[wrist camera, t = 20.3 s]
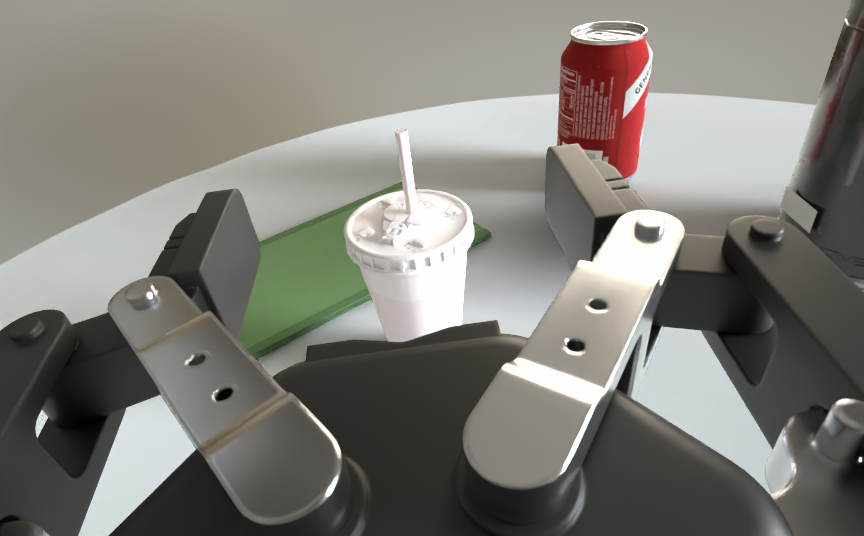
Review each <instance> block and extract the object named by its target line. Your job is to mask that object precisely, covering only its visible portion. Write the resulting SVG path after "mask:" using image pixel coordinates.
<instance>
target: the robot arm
mask: <svg viewBox="0 0 864 536" xmlns="http://www.w3.org/2000/svg"><path fill="white" fill-rule="evenodd" d="M545 208H546V215H547V219H548V222H549V225H550V227H551V229H552V231H553V233H554V235H555V237H556V239H557V241H558V243H559V245H560V247H561V249H562V251H563V253H564V255H565V257H566V259H567V261H568V264H569V266H570V268H571V270H572V273H571V274H570V276H569V277H568V279H567V280H566V282H565V284H564V285H563V287H562V288H561V290H560V291H559V293H558V294H557V296H556V297H555V299H554V301H553V302H552V304H551V305H550V307H549V308H548V310H547V311H546V313H545V315H544V316H543V318H542V319H541V321H540V322H539V324H538V325H537V327H536V328H535V330H534V332H533V333H532V335H531V336H530V338H526V337H522V336H517V335H510V334H501V333H500V329H499V325H498V322H497V320H494V321H487V322H480V323H472V324H465V325H458V326H451V327H448V328H445V329H442V330H439V331H436V332H433V333H430V334H427V335H424V336H421V337H418V338H415V339H412V340H409V341H405V342H387V341H369V340H348V341H341V342H334V343H326V344H319V345H312V346H307V354H306V361H303V362H300V363H298V364H295V365H293V366H291V367H289V368H287V369H285V370H283V371H281V372H279V373H278V374H276V375H275V376H273V377H271V376H270V375H269V374H268V373H267V371H266V370H265V369H264V368H263V367H262V366H261V365H260V364H259V363H258V362H257V361H256V360H255V358H254V357H253V356H252V355H251V354H250V353H249V352H248V351H247V350H246V349H245V348H244V347H243V345H242V344H241V343H240V342H239V341H238V338H239V335H240V331H241V328H242V324H243V321H244V317H245V313H246V310H247V306H248V303H249V299H250V296H251V292H252V289H253V285H254V282H255V278H256V274H257V271H258V267H259V264H260V257H261V254H260V245H259V241H258V238H257V235H256V232H255V229H254V227H253V224H252V221H251V218H250V216H249V213H248V210H247V207H246V205H245V202H244V199H243V197H242V194H241V193H240V191H239V190H238V189H229V190H222V191H214V192H207V193H206V194H205V196H204V198H203V200H202V202H201V204H200V206H199V208H198V210H197V212H196V213H191V214H189V215H188V216H187V217H185V218H184V219H183V220H182V221H181V222H180V223H178V224H177V225H176V226H175V228H174V230H173V232H172V234H171V236H170V237H169V239H170V240H168V241H167V243H166V245H165V247H164V250H163V251H162V252H161V254H160V256H159V258H158V260H157V262H156V263H155V265H154V267H153V269H152V271H151V273H150V274H149V276H148V277H147V278H143V279H140V280H137V281H135V282H133V283H131V284H129V285H127V286H125V287H124V288H122V289H121V290H120V291H118V292H117V293H116V294H115V295H114V296H113V297H112V299H111V300H110V302H109V304H108V313H106V314H103V315H100V316H97V317H94V318H91V319H88V320H85V321H82V322H79V323H76V324H73V325H72V324H71V323H70V322H69V320H68V319H67V317H66V316H65V314H64V313H62V312H61V311H58V310H42V311H38V312H34V313H31V314H28V315H26V316H24V317H21V318H19V319H17V320H16V321H14V322H12V323H10V324H9V325H7V326H6V327H5V328H3V329H2V330H1V331H0V536H78V534H79V532H80V529H81V526H82V524H83V521H84V519H85V516H86V513H87V511H88V508H89V505H90V503H91V500H92V498H93V495H94V492H95V490H96V487H97V484H98V482H99V479H100V476H101V474H102V471H103V469H104V466H105V463H106V461H107V458H108V455H109V453H110V450H111V447H112V445H113V442H114V440H115V437H116V434H117V432H118V429H119V426H120V424H121V421H122V418H123V416H124V413H125V410H126V408H127V407H129V406H132V405H134V404H137V403H140V402H142V401H145V400H148V399H150V398H153V397H155V396H158V395H161V396H162V398H163V399H164V401H165V402H166V404H167V405H168V407H169V409H170V410H171V412H172V413H173V415H174V416H175V418H176V419H177V421H178V422H179V424H180V426H181V427H182V429H183V430H184V432H185V433H186V435H187V436H188V438H189V439H190V441H191V442H192V444H193V446H194V447H195V449H196V450H195V451H194V452H193V453H192V454H191V455H190V456H189V457H188V458H187V459H186V460H185V461H184V462H183V463H182V464H181V465H180V466H179V467H178V468H177V469H176V470H175V471H174V472H173V473H172V474H171V475H170V476H169V477H168V478H167V479H166V480H165V481H164V482H163V483H162V484H161V485H160V486H159V487H158V488H157V489H156V490H155V491H154V492H153V493H151V494H150V495H149V496H148V497H147V498H146V499H145V500H144V501H143V502H142V503H141V504H140V505H139V506H138V507H137V508H136V509H135V510H134V511H133V512H132V513H131V514H130V515H129V516H128V517H127V518H126V519H125V520H124V521H123V522H122V523H121V524H120V525H119V526H118V527H117V528H116V529H115V530H114V531H113V532H112V533H111V534H110V535H109V536H864V292H863V291H864V0H851V3H850V6H849V9H848V12H847V15H846V20H845V22H844V25H843V28H842V31H841V34H840V37H839V40H838V43H837V46H836V49H835V52H834V55H833V57H832V60H831V63H830V67H829V69H828V72H827V75H826V78H825V81H824V84H823V87H822V90H821V93H820V96H819V99H818V102H817V105H816V108H815V111H814V113H813V116H812V119H811V122H810V125H809V128H808V131H807V134H806V137H805V140H804V143H803V146H802V149H801V152H800V155H799V158H798V161H797V164H796V167H795V170H794V173H793V175H792V178H791V181H790V184H789V187H786V190H785V194H784V197H783V200H782V203H781V206H780V208H781V210H780V213H779V216H778V217H777V218H773V217H768V216H760V215H751V216H743V217H739V218H736V219H734V220H733V221H731V222H730V223H729V224H728V227H727V230H726V234H725V236H713V235H696V234H688V233H685V229H684V226H683V224H682V223H681V222H680V221H679V220H678V219H676V218H675V217H673V216H671V215H669V214H666V213H662V212H658V211H651V210H649V209H648V208H647V207H646V206H645V204H644V203H643V202H642V201H641V199H640V198H639V197H638V195H637V194H636V193H635V192H634V190H633V189H632V188H630V185H629V184H628V183H627V182H626V180H623V177H622V175H621V174H620V173H619V172H618V170H617V169H616V168H615V167H614V166H612V165H610V164H608V163H606V162H604V161H602V160H600V159H597V160H590V159H589V157H588V156H587V155H586V153H585V152H584V151H583V149H582V148H581V146H580V145H579V144H578V143H576V144H569V145H561V146H554V147H549V148H548V150H547V155H546V185H545ZM664 327H673V328H683V329H693V330H701V331H702V333H703V335H704V337H705V338H706V340H707V342H708V343H709V345H710V347H711V348H712V350H713V352H714V353H715V355H716V357H717V358H718V360H719V361H720V363H721V365H722V366H723V368H724V370H725V371H726V373H727V375H728V376H729V378H730V380H731V381H732V383H733V385H734V386H735V388H736V390H737V391H738V393H739V394H740V396H741V398H742V399H743V401H744V403H745V404H746V406H747V408H748V409H749V411H750V413H751V414H752V416H753V418H754V419H755V421H756V422H757V424H758V426H759V427H760V429H761V431H762V432H763V434H764V436H765V437H766V439H767V441H768V442H769V444H770V446H771V447H772V449H773V450H772V452H771V454H770V456H769V459H768V461H767V463H766V466H765V477H766V481H767V484H768V486H769V489H770V492H771V494H770V495H769V493H768V492H767V491H766V490H765V489H764V488H763V487H762V486H761V485H760V484H759V483H758V482H757V481H756V480H755V479H754V478H753V477H752V476H751V475H749V474H748V473H747V472H746V471H745V470H743V469H742V468H740V467H739V466H738V465H736V464H735V463H733V462H732V461H730V460H729V459H727V458H726V457H724V456H722V455H721V454H719V453H718V452H716V451H715V450H713V449H711V448H710V447H708V446H707V445H705V444H703V443H702V442H700V441H699V440H697V439H695V438H694V437H692V436H691V435H689V434H688V433H686V432H684V431H683V430H681V429H680V428H678V427H676V426H675V425H673V424H672V423H670V422H669V421H667V420H665V419H664V418H662V417H661V416H659V415H657V414H656V413H654V412H653V411H651V410H650V409H648V408H646V407H645V406H643V405H642V404H640V403H638V402H637V401H636V400H637V397H638V393H639V390H640V387H641V384H642V381H643V379H644V376H645V374H646V371H647V369H648V366H649V364H650V361H651V359H652V356H653V354H654V351H655V349H656V346H657V344H658V342H659V339H660V337H661V334H662V332H663V328H664ZM41 410H43V411H44V412H45V414H46V415H47V416H48V419H47V421H46V423H45V425H44V427H43V429H42V431H41V432H40V434H39V436H38V438H37V437H36V431H35V426H36V421H37V418H38V415H39V414H40V412H41Z"/></svg>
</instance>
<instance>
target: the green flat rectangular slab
mask: <svg viewBox="0 0 864 536" xmlns="http://www.w3.org/2000/svg"><path fill="white" fill-rule="evenodd" d="M415 189H417V188H415ZM397 191H403V184H402V182H400V183H398V184H395V185H393V186H391V187H388V188H386V189H383V190H381V191H379V192H376V193H374V194H372V195H369V196H367V197H365V198H362V199H360V200H357V201H355V202H353V203H350V204H348V205H346V206H343V207H341V208H339V209H336V210H334V211H331V212H329V213H327V214H324V215H322V216H320V217H317V218H315V219H313V220H310V221H308V222H305V223H303V224H301V225H298V226H296V227H294V228H291V229H289V230H287V231H284V232H282V233H279V234H277V235H275V236H272V237H270V238H268V239H265V240H263V241H261V242H259V245H260V254H261V257H260V264H259V267H258V271H257V274H256V278H255V282H254V285H253V289H252V292H251V296H250V299H249V303H248V306H247V310H246V313H245V317H244V321H243V324H242V328H241V331H240V335H239V338H238V341H239V342H240V343H241V344H242V345H243V347H244V348H245V349H246V350H247V351H248V352H249V353H250V354H251V355H252V356H253V357H254V358H255V359H256V358H258V357H260V356H262V355H264V354H266V353H268V352H269V351H271V350H273V349H275V348H277V347H279V346H281V345H283V344H285V343H287V342H289V341H291V340H293V339H294V338H296V337H298V336H300V335H302V334H304V333H306V332H308V331H310V330H312V329H314V328H316V327H318V326H320V325H321V324H323V323H325V322H327V321H329V320H331V319H333V318H335V317H337V316H339V315H341V314H343V313H345V312H347V311H348V310H350V309H352V308H354V307H356V306H358V305H360V304H362V303H364V302H366V301H368V300H370V299H372V298H371V296H370V293H369V290H368V288H367V285H366V283H365V281H364V278H363V275H362V272H361V270H360V267H359V265H357V264H355V263H354V262H353V261H352V259H351V258H350V257H349V255H348V254H347V250H346V240H345V236H344V226H345V224H346V221H347V220H348V218H349V217H350V215H351V214H352V213H353V212H354V211H355V210H356V209H358V208H359V207H360V206H362V205H363V204H365V203H367V202H368V201H370V200H372V199H375V198H377V197H379V196H382V195H385V194H389V193H393V192H397ZM473 226H474V238H473V241H472V243H471V245H470V247H472V246H474V245H476V244H478V243H480V242H481V241H483V240H485V239H487V238H489V237H491V232H489V231H488V230H486V229H484V228H482V227H480V226H479V225H477V224H475V223H474V222H473ZM470 247H469V248H470Z"/></svg>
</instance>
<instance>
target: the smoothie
mask: <svg viewBox="0 0 864 536" xmlns="http://www.w3.org/2000/svg"><path fill="white" fill-rule="evenodd" d="M395 136H396V143H397V150H398V157H399V163H400V170H401V177H402V184H403V191H397V192H393V193H389V194H385V195H382V196H379V197H377V198H375V199H372V200H370V201H368V202H367V203H365V204H363V205H362V206H360V207H359V208H358V209H356V210H355V211H354V212H353V213H352V214H351V215H350V217H349V218H348V220H347V221H346V224H345V226H344V236H345V240H346V250H347V254H348V255H349V257H350V258H351V259H352V261H353V262H354V263H355V264H357V265H359V267H360V270H361V272H362V275H363V278H364V281H365V283H366V285H367V288H368V290H369V293H370V296H371V298H372V301H373V303H374V306H375V309H376V311H377V314H378V316H379V319H380V322H381V324H382V327H383V329H384V332H385V335H386V337H387V340H388V342H405V341H409V340H412V339H415V338H418V337H421V336H424V335H427V334H430V333H433V332H436V331H439V330H442V329H445V328H448V327H451V326H458V325H461V324H462V310H463V297H464V284H465V270H466V258H467V249H468V248H469V247H470V245H471V243H472V241H473V238H474V226H473V222H472V213H471V210H470V208H469V207H468V206H467V205H466V204H465V203H464V202H463V201H462V200H461V199H459V198H457V197H455V196H453V195H451V194H448V193H445V192H441V191H436V190H426V189H415V186H414V178H413V171H412V163H411V155H410V148H409V140H408V133H407V129H405V128H400V129H397V130H395Z"/></svg>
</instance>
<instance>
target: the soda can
mask: <svg viewBox="0 0 864 536" xmlns="http://www.w3.org/2000/svg"><path fill="white" fill-rule="evenodd" d="M646 35H647V28H646V27H645V26H643V25H640V24H637V23H632V22H624V21H605V22H596V23H590V24H585V25H581V26H578V27H576V28H575V29H573V30H572V31H571V42H570V43H569V45H568V46H567V48H566V50H565V51H564V52H563V54H562V56H561V73H560V94H559V117H558V140H557V146H561V145H569V144H576V143H578V144H579V145H580V146H581V148H582V149H583V151H584V152H585V153H586V155H587V156H588V157H589V159H590V160H597V159H600V160H602V161H604V162H606V163H608V164H610V165H612V166H614V167H615V168H616V169H617V170H618V172H619V173H620V174H621V175H622V177H623V180H628V179H630V178H631V177H632V176H633V175H634V174H635V173H636V170H637V164H638V157H639V150H640V143H641V136H642V129H643V122H644V115H645V108H646V101H647V94H648V87H649V80H650V73H651V65H652V59H653V53H652V50H651V49H650V47H649V45H648V43H647V41H646V39H645V36H646Z"/></svg>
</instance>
